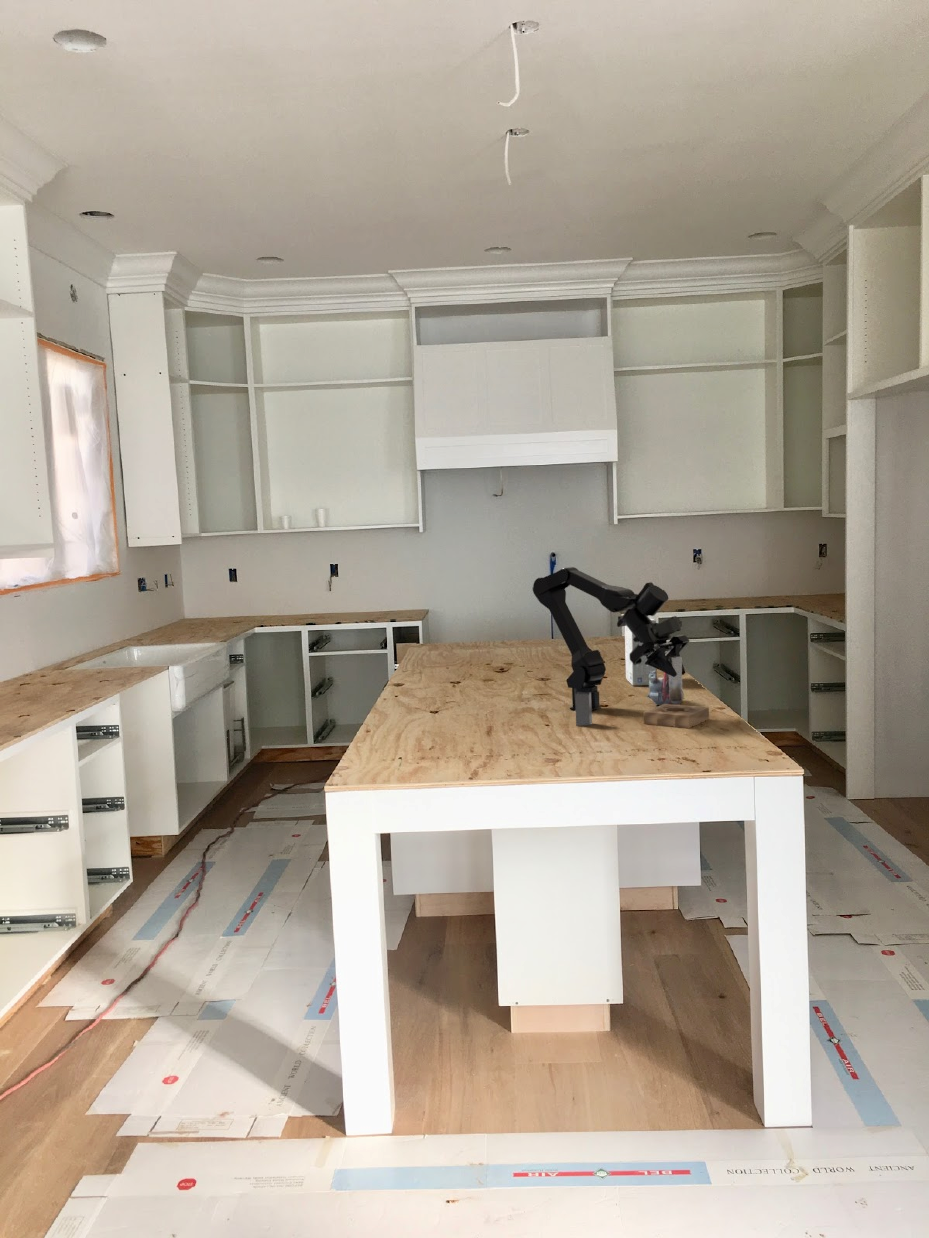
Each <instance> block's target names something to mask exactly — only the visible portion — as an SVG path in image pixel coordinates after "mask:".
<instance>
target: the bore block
mask: <svg viewBox="0 0 929 1238" xmlns="http://www.w3.org/2000/svg"><path fill="white" fill-rule="evenodd" d="M709 710H710V707H709V706H707V707H706V706H697V705H686V704H685V705H683V704H680V705H674V704H663V705H660V706H656V707H653V708H650V709H648V710H645V711H643V724H644V725H651V726H661V727H671V726H673V727H672V728H681V727H682V728H681V729H684V728H685V729H691V728H693V727H695V726H697V725H699V724H701V723H700V722H702V723H704V722H706V721H708V720H710V711H709ZM707 719H708V720H707ZM705 720H706V721H705ZM692 726H693V727H692Z"/></svg>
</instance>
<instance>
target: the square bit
mask: <svg viewBox="0 0 929 1238" xmlns="http://www.w3.org/2000/svg"><path fill="white" fill-rule="evenodd" d="M575 704H576V710H575V726H576V727H591V725H592V724H593V717H592V715H593V710H592V707H591V692H577V693H576V694H575ZM591 723H592V724H591Z"/></svg>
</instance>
